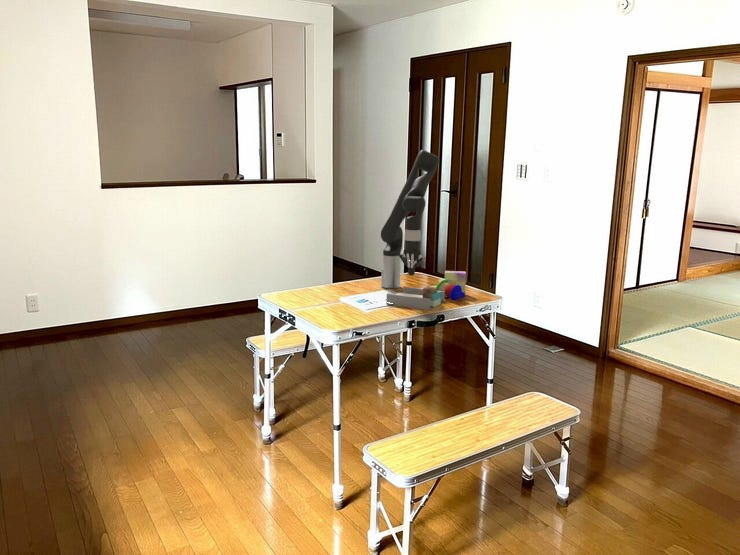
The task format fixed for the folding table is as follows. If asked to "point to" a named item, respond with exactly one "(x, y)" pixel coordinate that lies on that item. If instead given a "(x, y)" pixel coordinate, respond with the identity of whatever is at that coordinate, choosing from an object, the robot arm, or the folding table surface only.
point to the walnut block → (429, 292)
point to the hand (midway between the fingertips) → (411, 275)
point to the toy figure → (450, 290)
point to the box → (456, 278)
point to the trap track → (416, 298)
